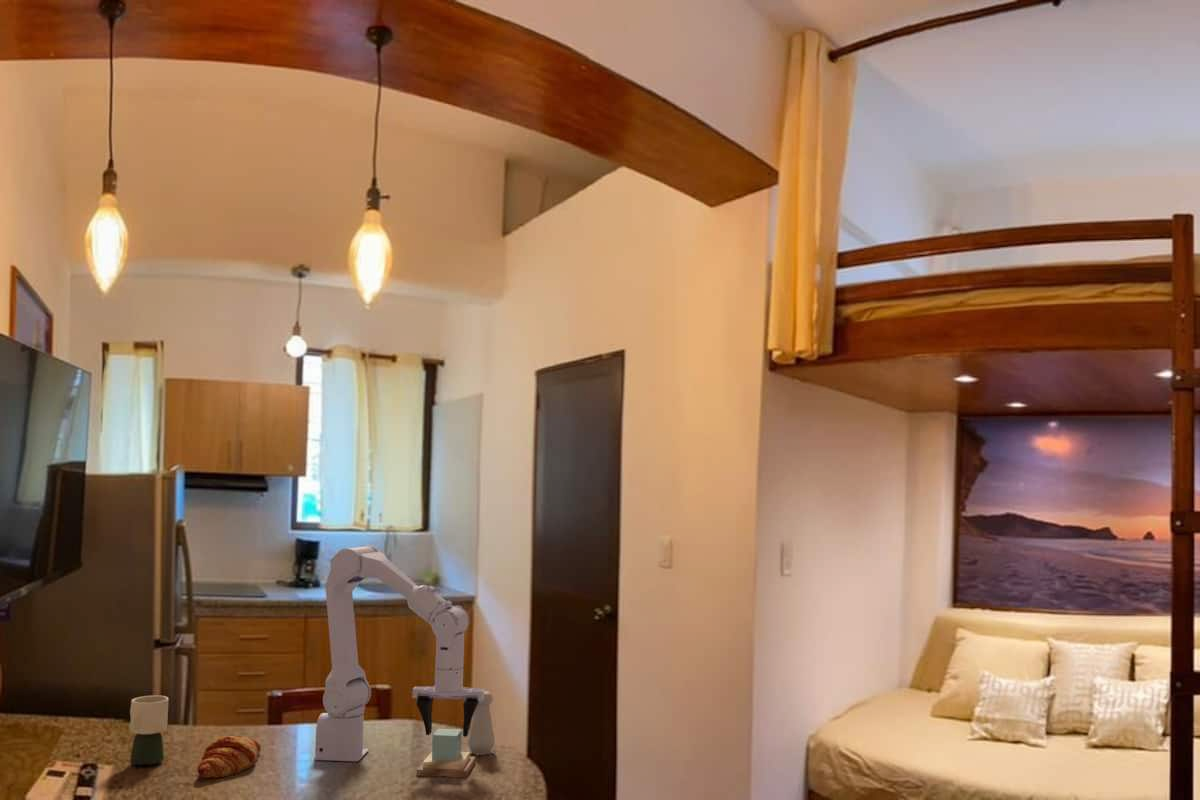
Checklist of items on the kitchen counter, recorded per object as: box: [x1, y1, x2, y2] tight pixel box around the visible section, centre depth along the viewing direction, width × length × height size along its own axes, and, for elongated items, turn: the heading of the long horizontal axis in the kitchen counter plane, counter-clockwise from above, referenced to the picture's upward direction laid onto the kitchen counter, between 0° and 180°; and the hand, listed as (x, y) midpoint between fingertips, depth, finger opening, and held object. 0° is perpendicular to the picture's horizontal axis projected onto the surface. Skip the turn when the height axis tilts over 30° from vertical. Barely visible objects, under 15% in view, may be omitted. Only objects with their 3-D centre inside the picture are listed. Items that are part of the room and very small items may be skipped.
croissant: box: [197, 735, 262, 779], centre depth 203 cm, size 21×10×8 cm, turn 170°
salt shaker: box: [467, 690, 496, 756], centre depth 216 cm, size 6×6×13 cm
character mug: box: [128, 695, 169, 767], centre depth 204 cm, size 11×7×13 cm, turn 169°
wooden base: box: [416, 750, 476, 778], centre depth 204 cm, size 10×10×2 cm
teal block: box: [431, 728, 463, 761], centre depth 204 cm, size 5×5×5 cm
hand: (447, 734), depth 205 cm, fingers open, 7 cm apart
